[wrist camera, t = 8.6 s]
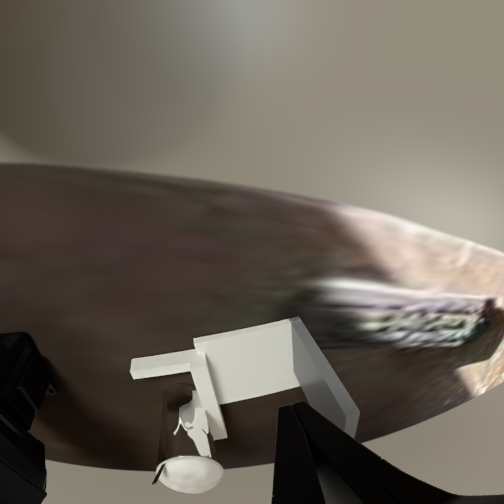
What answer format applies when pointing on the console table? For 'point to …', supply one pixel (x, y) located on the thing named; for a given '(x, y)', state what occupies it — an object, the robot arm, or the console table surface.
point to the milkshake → (186, 443)
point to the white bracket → (257, 371)
